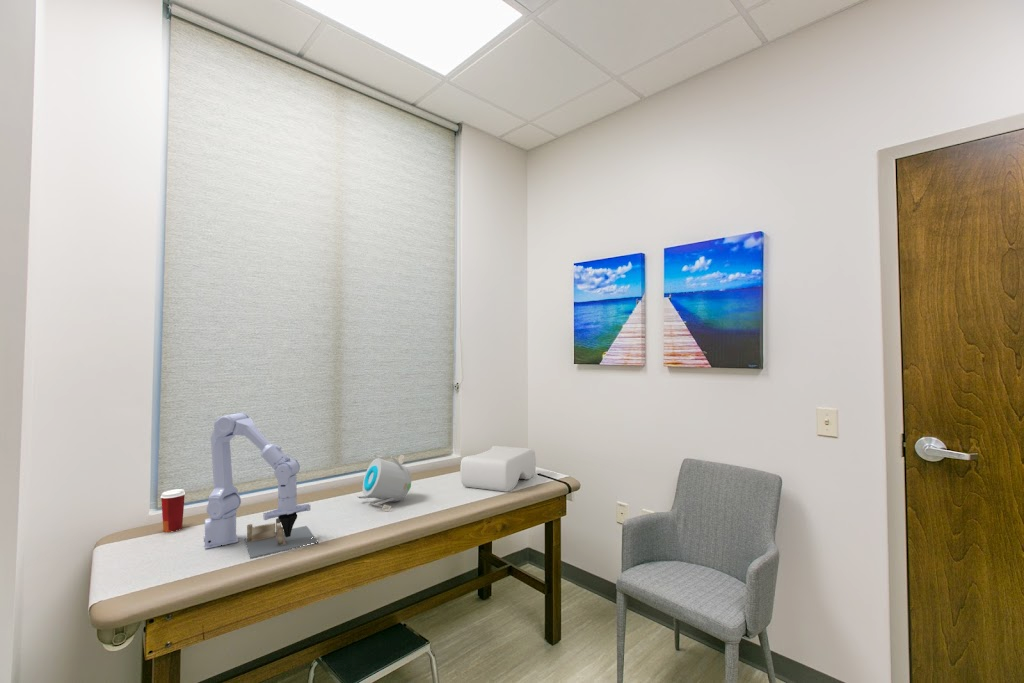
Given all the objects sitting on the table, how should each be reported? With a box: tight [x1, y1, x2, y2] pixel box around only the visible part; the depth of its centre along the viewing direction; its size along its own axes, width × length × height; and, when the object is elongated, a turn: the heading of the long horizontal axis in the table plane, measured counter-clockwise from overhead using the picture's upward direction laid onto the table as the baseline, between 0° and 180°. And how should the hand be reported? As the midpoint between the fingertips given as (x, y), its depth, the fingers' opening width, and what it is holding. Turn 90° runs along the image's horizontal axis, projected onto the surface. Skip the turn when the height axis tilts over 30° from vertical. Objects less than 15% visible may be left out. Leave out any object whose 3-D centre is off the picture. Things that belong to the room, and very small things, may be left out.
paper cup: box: [159, 488, 186, 533], centre depth 171 cm, size 8×8×14 cm
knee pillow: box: [459, 445, 537, 493], centre depth 229 cm, size 35×25×15 cm
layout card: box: [244, 525, 319, 560], centre depth 158 cm, size 20×19×1 cm
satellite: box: [358, 452, 412, 512], centre depth 200 cm, size 23×20×25 cm
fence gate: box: [275, 517, 284, 544], centre depth 158 cm, size 12×2×5 cm, turn 31°
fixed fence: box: [246, 522, 276, 542], centre depth 160 cm, size 9×2×5 cm, turn 125°
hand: (287, 536), depth 157 cm, fingers closed
